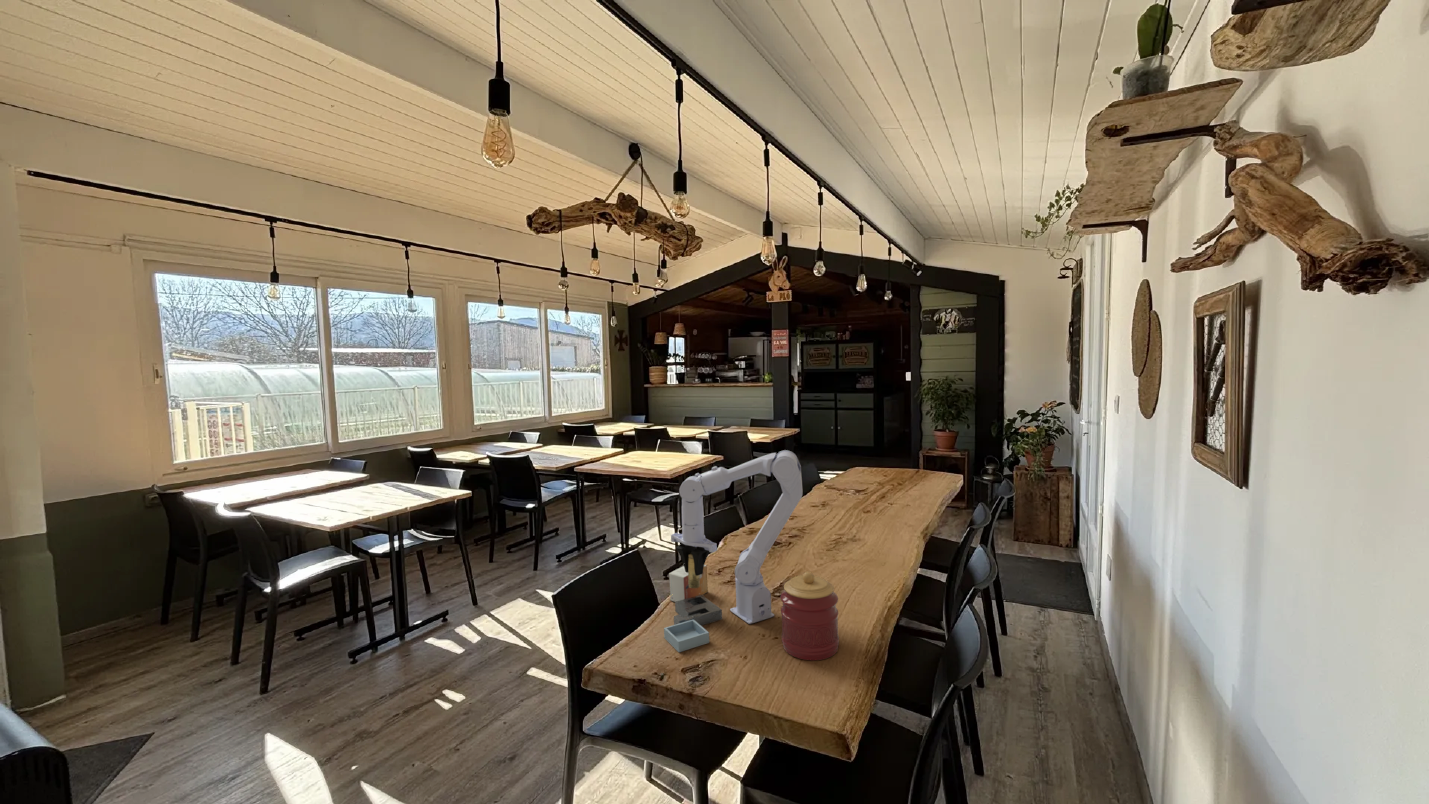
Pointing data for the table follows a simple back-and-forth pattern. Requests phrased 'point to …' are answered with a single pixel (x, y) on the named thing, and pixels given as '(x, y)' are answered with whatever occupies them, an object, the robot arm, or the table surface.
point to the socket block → (699, 609)
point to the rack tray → (686, 635)
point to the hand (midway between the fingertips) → (693, 572)
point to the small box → (686, 585)
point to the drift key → (683, 618)
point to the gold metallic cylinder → (692, 573)
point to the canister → (809, 617)
